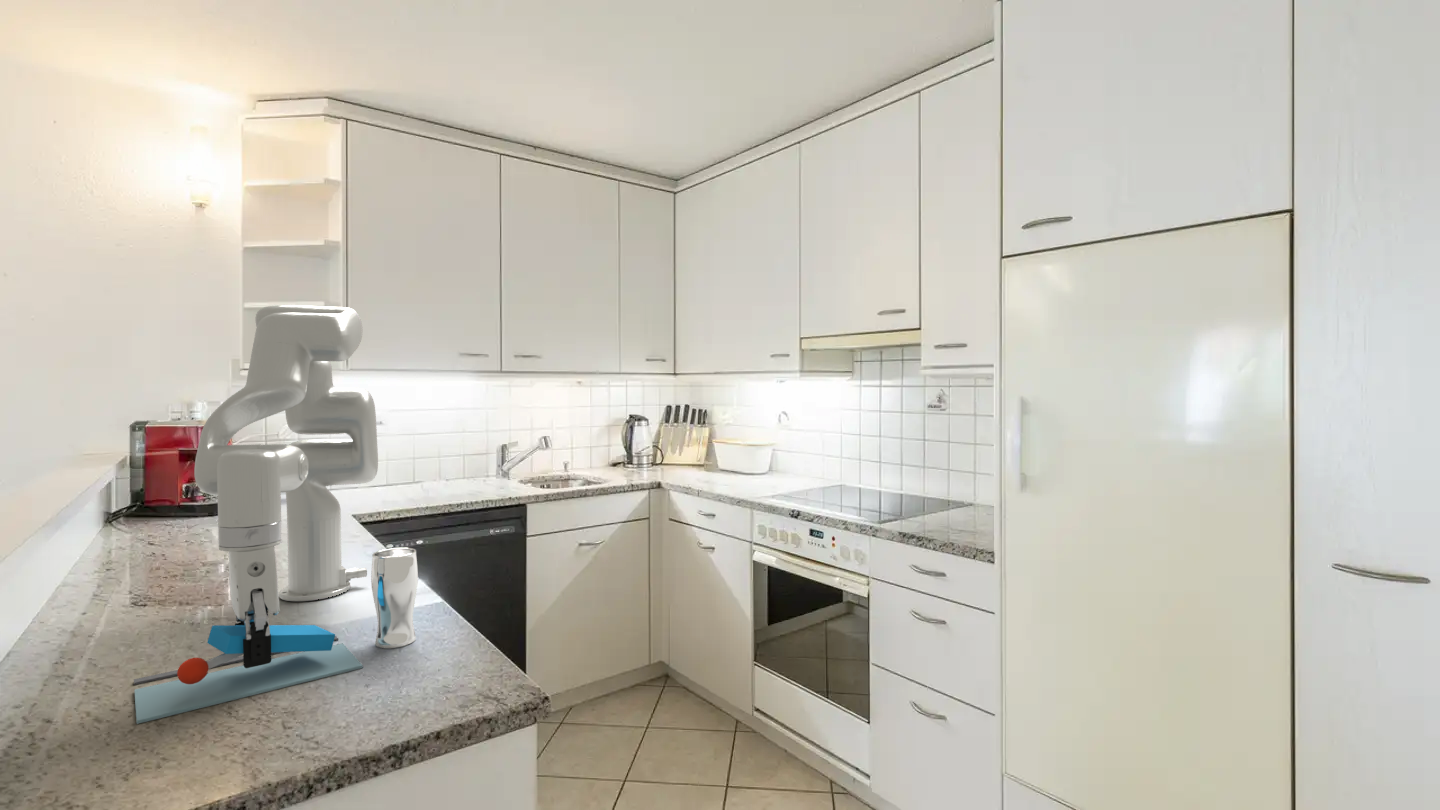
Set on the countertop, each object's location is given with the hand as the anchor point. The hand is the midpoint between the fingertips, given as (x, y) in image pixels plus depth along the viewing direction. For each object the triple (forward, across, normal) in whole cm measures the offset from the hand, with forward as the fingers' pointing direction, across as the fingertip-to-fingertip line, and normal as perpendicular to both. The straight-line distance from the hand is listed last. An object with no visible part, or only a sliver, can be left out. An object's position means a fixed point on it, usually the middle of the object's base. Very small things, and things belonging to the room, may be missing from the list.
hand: (253, 655), depth 99 cm
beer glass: (+4, +2, -20) cm, 20 cm away
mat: (+3, 0, 0) cm, 3 cm away
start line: (+3, +10, 0) cm, 10 cm away
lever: (+2, 0, 0) cm, 2 cm away
